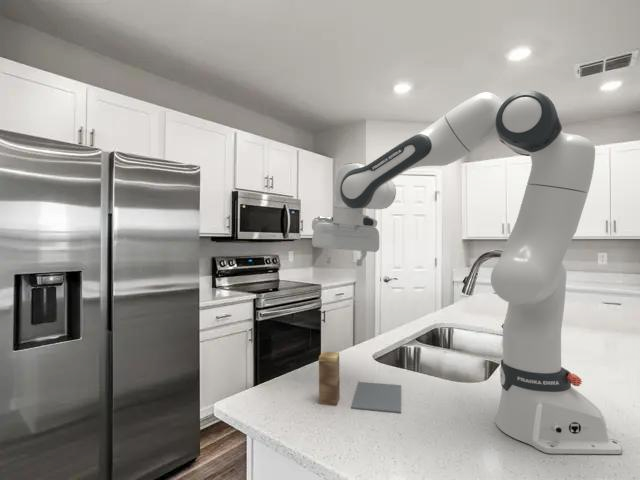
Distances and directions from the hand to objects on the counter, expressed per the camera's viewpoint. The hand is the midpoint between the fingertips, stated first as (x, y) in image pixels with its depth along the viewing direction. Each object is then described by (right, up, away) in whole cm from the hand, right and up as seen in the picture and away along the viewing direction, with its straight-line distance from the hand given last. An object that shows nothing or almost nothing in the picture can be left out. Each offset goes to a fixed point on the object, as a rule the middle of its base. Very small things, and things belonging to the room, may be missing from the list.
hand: (343, 264), depth 108 cm
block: (-5, -34, -15) cm, 38 cm away
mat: (+8, -34, -13) cm, 38 cm away
